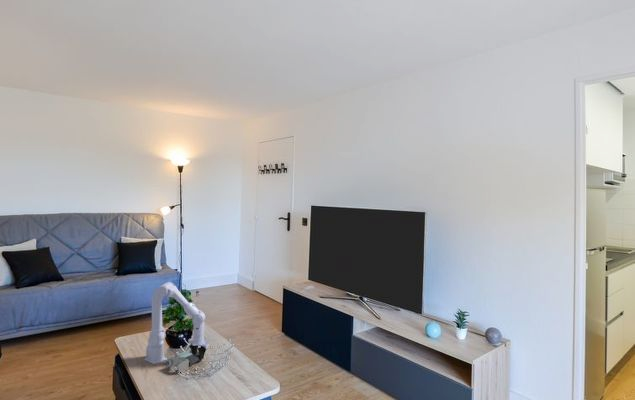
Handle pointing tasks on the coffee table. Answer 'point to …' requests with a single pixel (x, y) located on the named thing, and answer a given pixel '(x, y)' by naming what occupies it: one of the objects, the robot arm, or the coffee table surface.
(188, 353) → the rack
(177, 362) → the socket
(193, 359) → the drill
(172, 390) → the coffee table surface
